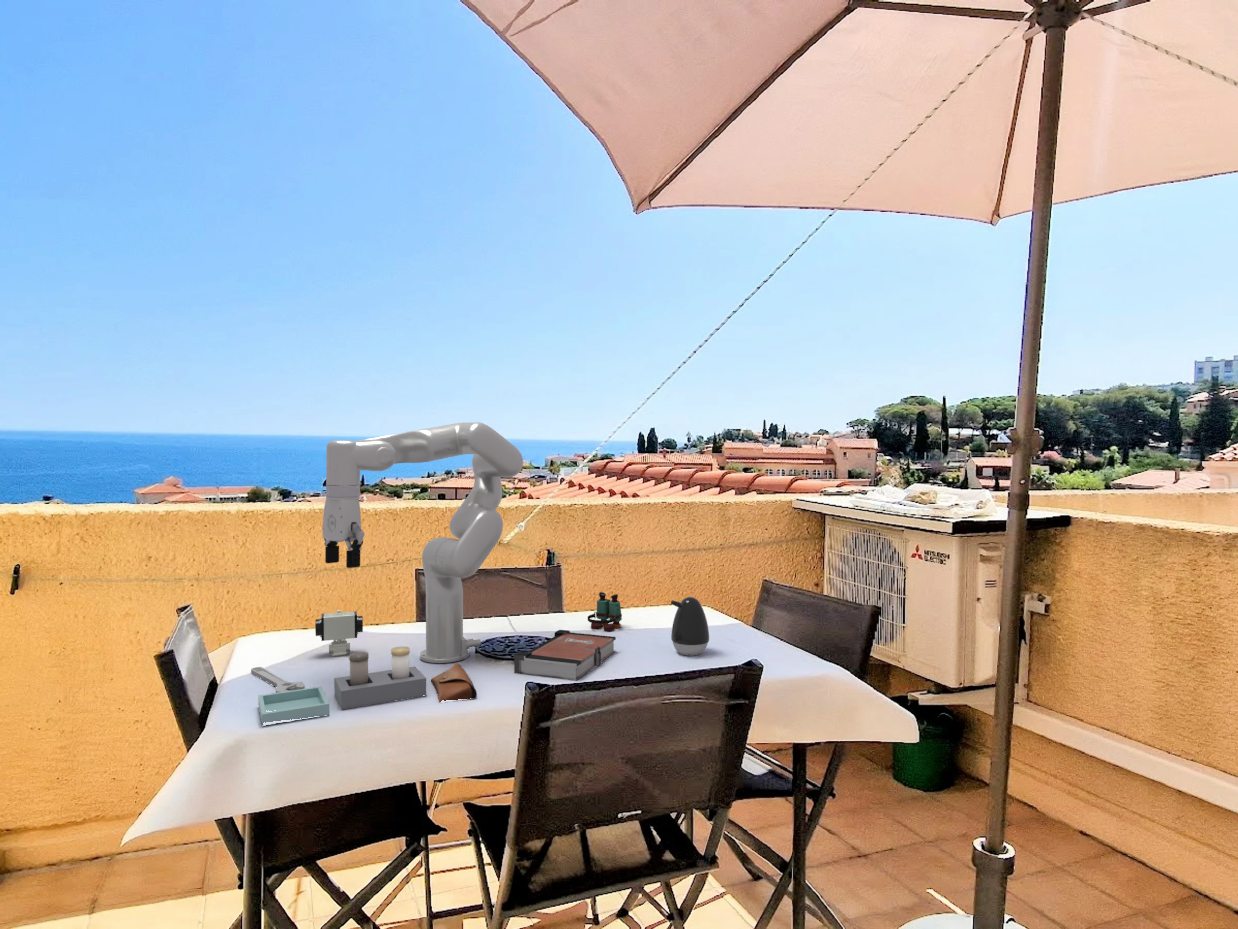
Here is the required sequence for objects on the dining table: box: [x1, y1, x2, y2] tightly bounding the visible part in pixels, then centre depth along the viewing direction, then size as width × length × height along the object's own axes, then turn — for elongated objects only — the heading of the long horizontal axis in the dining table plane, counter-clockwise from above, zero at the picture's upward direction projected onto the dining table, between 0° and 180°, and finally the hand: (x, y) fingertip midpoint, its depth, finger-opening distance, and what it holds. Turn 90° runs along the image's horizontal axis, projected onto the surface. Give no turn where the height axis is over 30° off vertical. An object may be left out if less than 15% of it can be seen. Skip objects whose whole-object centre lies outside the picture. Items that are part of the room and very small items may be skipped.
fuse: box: [390, 646, 411, 680], centre depth 168 cm, size 4×4×10 cm
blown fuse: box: [348, 651, 370, 686], centre depth 164 cm, size 4×4×10 cm
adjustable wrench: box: [250, 666, 306, 693], centre depth 176 cm, size 25×6×2 cm, turn 41°
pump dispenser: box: [670, 596, 710, 657], centre depth 200 cm, size 10×10×15 cm
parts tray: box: [257, 685, 330, 723], centre depth 156 cm, size 13×13×2 cm
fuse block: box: [333, 666, 427, 710], centre depth 166 cm, size 18×10×4 cm, turn 119°
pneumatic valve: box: [314, 609, 364, 657], centre depth 199 cm, size 6×12×12 cm, turn 111°
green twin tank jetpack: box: [587, 591, 623, 632], centre depth 226 cm, size 9×11×10 cm
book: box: [513, 629, 617, 682], centre depth 192 cm, size 26×18×5 cm
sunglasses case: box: [430, 662, 478, 703], centre depth 171 cm, size 18×7×7 cm, turn 22°
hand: (342, 565), depth 175 cm, fingers open, 9 cm apart
